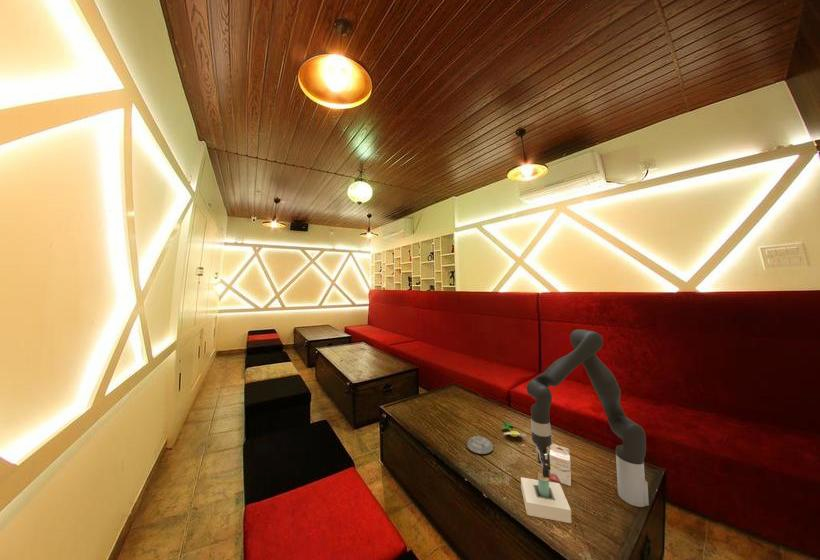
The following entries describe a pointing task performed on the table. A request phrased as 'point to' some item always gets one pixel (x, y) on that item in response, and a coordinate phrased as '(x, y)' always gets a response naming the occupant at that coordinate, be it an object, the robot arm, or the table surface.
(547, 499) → the socket board
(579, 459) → the table surface
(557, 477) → the ink cartridge box
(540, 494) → the peg
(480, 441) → the flying saucer
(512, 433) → the decorative flower
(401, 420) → the table surface
